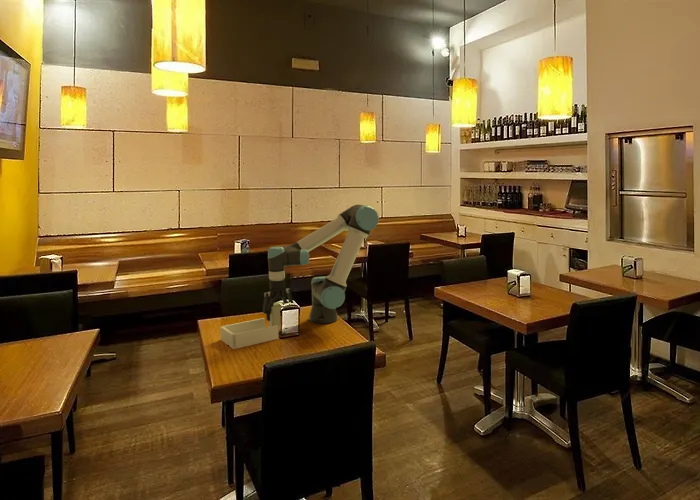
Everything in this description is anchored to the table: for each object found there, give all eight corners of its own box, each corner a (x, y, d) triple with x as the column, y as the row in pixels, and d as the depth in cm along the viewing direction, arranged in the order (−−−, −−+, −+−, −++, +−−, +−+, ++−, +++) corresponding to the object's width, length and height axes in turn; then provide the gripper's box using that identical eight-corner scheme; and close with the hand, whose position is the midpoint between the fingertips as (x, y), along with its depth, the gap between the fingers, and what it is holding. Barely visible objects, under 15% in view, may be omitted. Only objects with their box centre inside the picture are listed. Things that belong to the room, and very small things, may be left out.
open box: (264, 330, 229) (264, 317, 228) (278, 338, 217) (278, 325, 216) (221, 339, 217) (220, 326, 216) (233, 349, 205) (232, 335, 204)
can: (287, 330, 221) (286, 306, 219) (268, 330, 221) (266, 306, 219) (290, 324, 230) (289, 300, 228) (271, 324, 230) (270, 301, 228)
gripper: (293, 274, 231) (295, 318, 234) (252, 281, 218) (255, 327, 222) (300, 277, 225) (302, 322, 228) (259, 284, 212) (262, 331, 216)
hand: (279, 324), depth 225 cm, fingers closed on can, 9 cm apart
